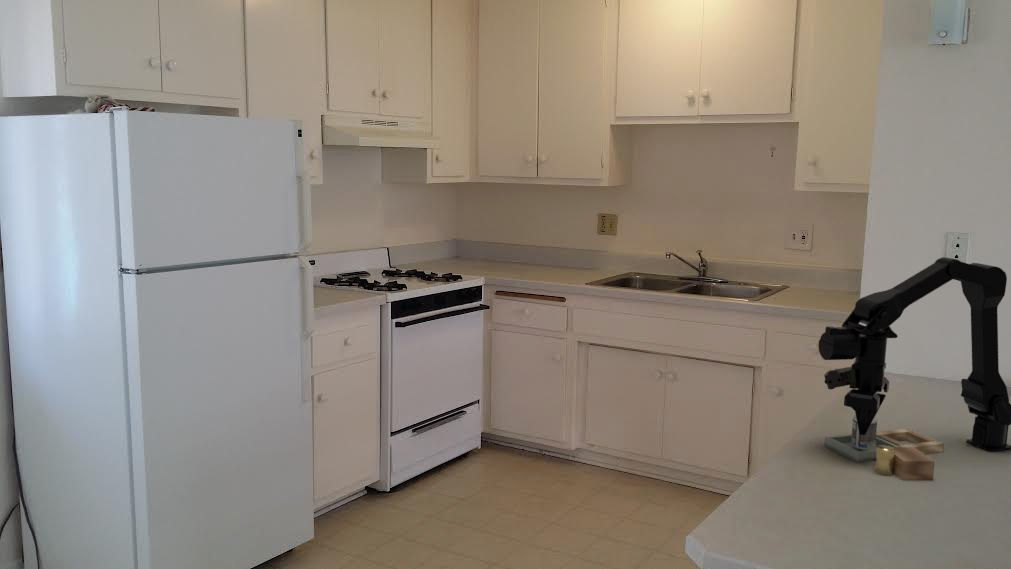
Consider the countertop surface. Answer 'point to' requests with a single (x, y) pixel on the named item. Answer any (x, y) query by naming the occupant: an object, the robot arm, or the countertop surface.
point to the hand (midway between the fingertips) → (864, 431)
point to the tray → (845, 448)
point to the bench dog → (884, 460)
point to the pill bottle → (864, 436)
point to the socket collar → (911, 440)
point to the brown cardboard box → (912, 464)
